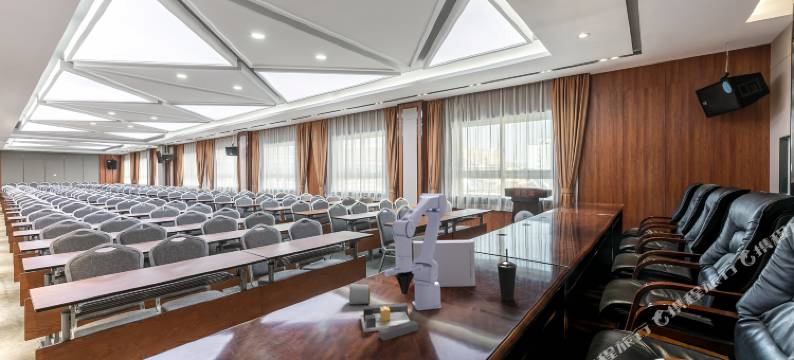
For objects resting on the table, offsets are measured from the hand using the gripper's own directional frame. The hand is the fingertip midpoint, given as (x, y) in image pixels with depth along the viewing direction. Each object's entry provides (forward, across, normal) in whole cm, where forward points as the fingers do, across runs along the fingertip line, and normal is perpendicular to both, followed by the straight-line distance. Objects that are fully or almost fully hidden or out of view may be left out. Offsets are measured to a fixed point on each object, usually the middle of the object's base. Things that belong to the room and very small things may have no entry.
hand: (404, 293), depth 122 cm
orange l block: (+8, +7, -2) cm, 11 cm away
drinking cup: (+10, -45, +4) cm, 46 cm away
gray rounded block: (+10, +7, -25) cm, 27 cm away
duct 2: (+10, +6, +7) cm, 14 cm away
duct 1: (+10, +1, -9) cm, 13 cm away
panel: (+9, +7, -2) cm, 12 cm away
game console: (+10, -34, -23) cm, 43 cm away
